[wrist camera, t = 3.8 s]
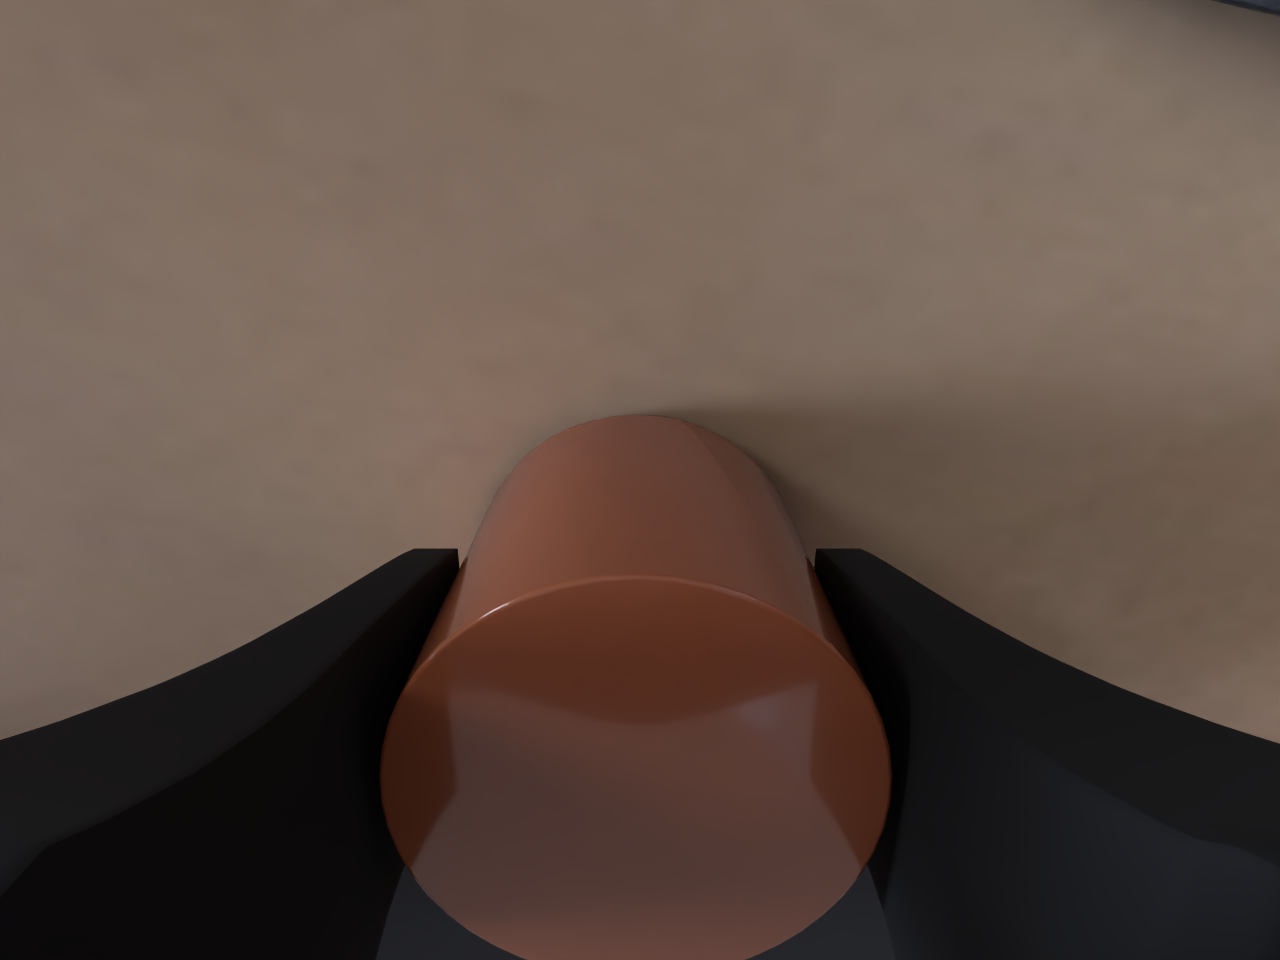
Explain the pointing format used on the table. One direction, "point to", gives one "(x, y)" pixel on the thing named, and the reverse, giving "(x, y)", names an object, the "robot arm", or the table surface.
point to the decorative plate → (1256, 5)
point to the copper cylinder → (636, 713)
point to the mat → (453, 956)
